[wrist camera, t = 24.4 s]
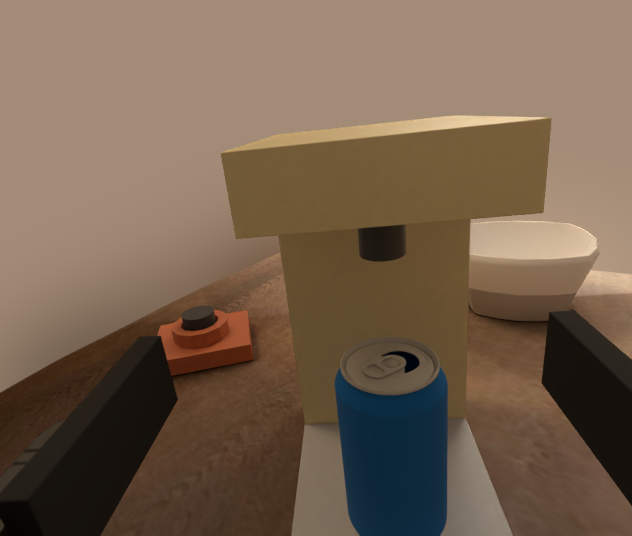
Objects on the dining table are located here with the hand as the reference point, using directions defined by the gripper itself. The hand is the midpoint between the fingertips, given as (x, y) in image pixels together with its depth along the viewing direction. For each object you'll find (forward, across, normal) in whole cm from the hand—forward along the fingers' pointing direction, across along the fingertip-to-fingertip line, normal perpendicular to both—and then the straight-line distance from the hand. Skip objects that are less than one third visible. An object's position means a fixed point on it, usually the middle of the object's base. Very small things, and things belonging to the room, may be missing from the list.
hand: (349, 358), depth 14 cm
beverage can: (+8, +2, -18) cm, 20 cm away
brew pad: (+34, -20, -19) cm, 44 cm away
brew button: (+34, -20, -16) cm, 42 cm away
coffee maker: (+12, +2, -19) cm, 23 cm away
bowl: (+42, +22, -19) cm, 51 cm away
